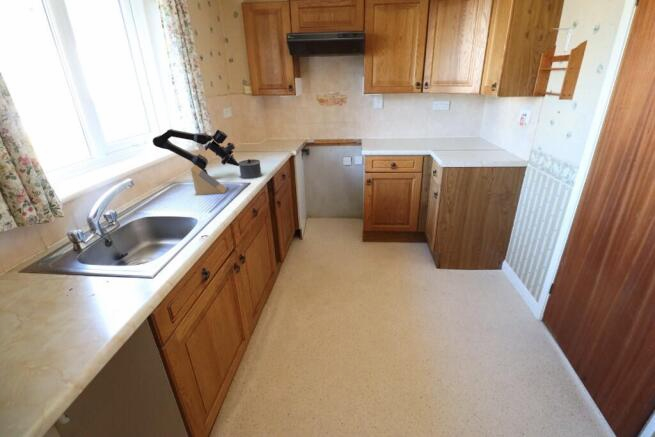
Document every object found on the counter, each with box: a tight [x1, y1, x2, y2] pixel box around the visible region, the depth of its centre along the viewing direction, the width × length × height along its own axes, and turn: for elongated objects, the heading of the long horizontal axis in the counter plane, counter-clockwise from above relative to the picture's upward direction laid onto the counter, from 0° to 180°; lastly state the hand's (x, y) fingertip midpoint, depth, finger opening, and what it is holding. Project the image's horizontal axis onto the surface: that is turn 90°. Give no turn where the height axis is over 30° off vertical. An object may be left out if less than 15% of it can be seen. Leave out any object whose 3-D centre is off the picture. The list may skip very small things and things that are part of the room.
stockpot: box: [238, 158, 262, 180], centre depth 205 cm, size 14×14×11 cm
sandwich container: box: [190, 164, 228, 196], centre depth 177 cm, size 9×15×15 cm, turn 94°
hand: (238, 165), depth 203 cm, fingers closed, pressing on stockpot
